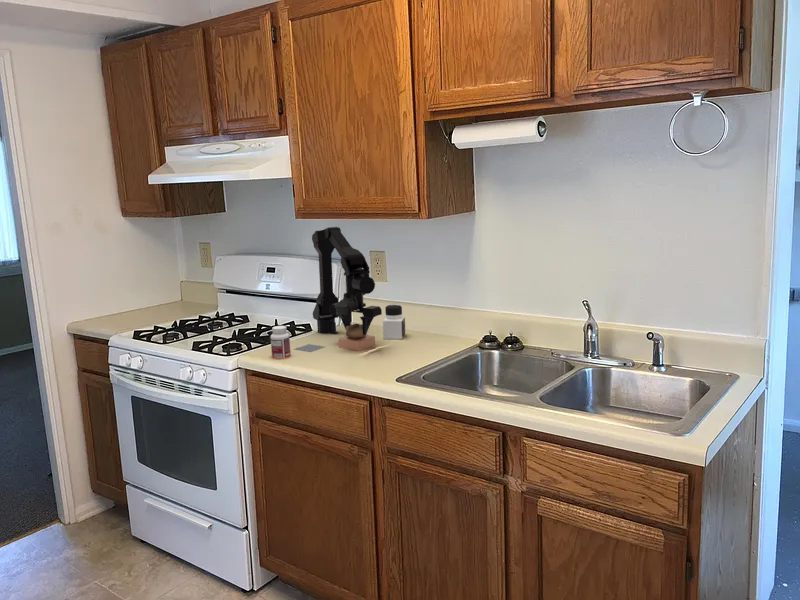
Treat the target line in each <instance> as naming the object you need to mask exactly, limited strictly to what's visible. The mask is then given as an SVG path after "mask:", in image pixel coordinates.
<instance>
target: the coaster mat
mask: <svg viewBox="0 0 800 600" xmlns="http://www.w3.org/2000/svg"><path fill="white" fill-rule="evenodd" d="M324 348H325V346H324V345H317V344H310V343H308V344H305V345H302V346H298V347H295V348H293V350H296V351H302V352H307V353H312V352H315V351H318V350H322V349H324Z"/></svg>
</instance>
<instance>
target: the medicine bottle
mask: <svg viewBox="0 0 800 600" xmlns="http://www.w3.org/2000/svg"><path fill="white" fill-rule="evenodd" d="M382 330H383V331H382V332H383V333H382V334H383V340H403V339H404V337H405V336H406V317H405V316H404V315H403V306H401V305H400V304H389V305H386V306H385V318H384V319H382Z"/></svg>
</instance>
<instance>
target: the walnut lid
mask: <svg viewBox="0 0 800 600" xmlns="http://www.w3.org/2000/svg"><path fill="white" fill-rule="evenodd" d="M366 335H367V334H366ZM366 335H363V326H362V323H361V324H360V323H353V324H351V325H348V326H346V329H345V336H348V337H363V336H366Z"/></svg>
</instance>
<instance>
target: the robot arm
mask: <svg viewBox="0 0 800 600" xmlns="http://www.w3.org/2000/svg"><path fill="white" fill-rule="evenodd" d="M311 240H312V243H313V248H314V249H315V252H317V254H318V269H319V270H318V273H319V291H320V292H319V293H318V295H317V297H316V299H315V302H316V303H315V307H314V308H313V311H312V318H313V320H315V321H316V320H317V321H316V323H317V333H320V334H329V335H330V334H331V335H335V334H338V333H339V331H338V330H337V322H336V319H338V318H339V319H340V320H341V322H342V324H343V326H344V329H345V330H346V326H348V325H352V324H351V323H352V314H353V313H358V314H362V316H360V317H359V319H360V320H361V324H362V326H363V335H368V334H367V333H368V332H369V331H368V330H369V329H370V326H371V323H372V322H373V319H374V318H375V317H378V316H381V315H382V313H383V312H382V311H383V310H382V308H381V306H377V305H369V306H367V305H366V304H367V303H366V302H364V296H365V295H369V294H371V293H373V292H374V290H375V287H376V283H375V280H374V279H373V278H372V277H371V276H370V273H371V272H370V266H369V265H368V262H367V259H366V257H365V256H364V254H363V253H362V252H361V251H360V250H359V249H356V248H354V247H353V246H352V245H351V244H350V243H349V241H348V240H347V239H346V237H345V236H344V235H343V233H342V230H341V228H340V227H338V226H331V227H326V228H324V229H321V230H315V231H314V233H313V234H312V235H311ZM334 250H336V252H337V253H338V255H339V256H340V264H341V267H342V270H343V271H344V273H343V276H345V290H346V291H345V292H344V293H343V298H342V299H341V300H339V297H337V296H336V294H335V293H334V285H333V284H334V281H333V280H334V279H333V262H332V261H333V259H332V256H333V255H332V254H333V252H334Z"/></svg>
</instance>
